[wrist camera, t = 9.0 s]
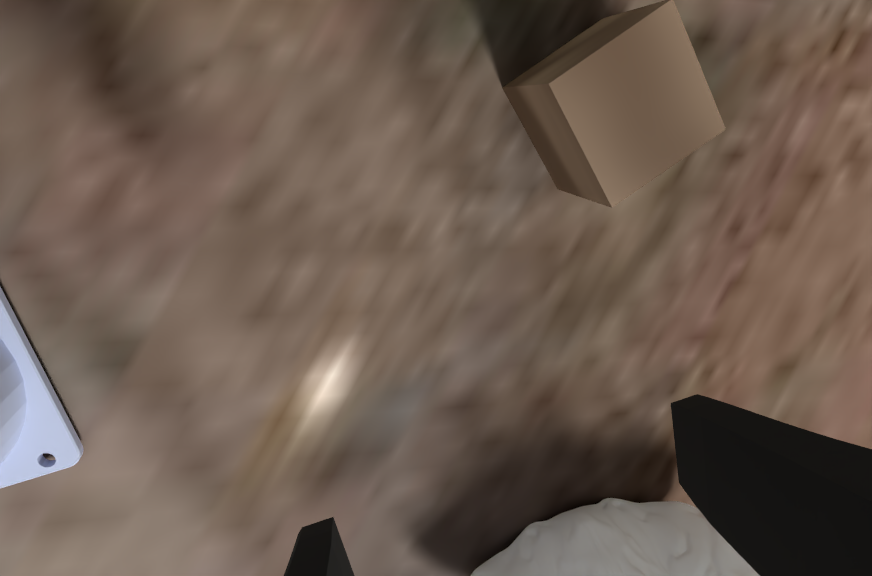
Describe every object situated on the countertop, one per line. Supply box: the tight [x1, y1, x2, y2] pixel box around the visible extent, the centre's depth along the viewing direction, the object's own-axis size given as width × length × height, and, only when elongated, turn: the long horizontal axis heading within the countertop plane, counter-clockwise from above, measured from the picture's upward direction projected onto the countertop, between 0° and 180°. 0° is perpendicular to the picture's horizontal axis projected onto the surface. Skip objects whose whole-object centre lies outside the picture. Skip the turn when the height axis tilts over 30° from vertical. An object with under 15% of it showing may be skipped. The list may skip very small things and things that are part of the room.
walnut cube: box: [502, 0, 726, 207], centre depth 18 cm, size 4×4×4 cm
